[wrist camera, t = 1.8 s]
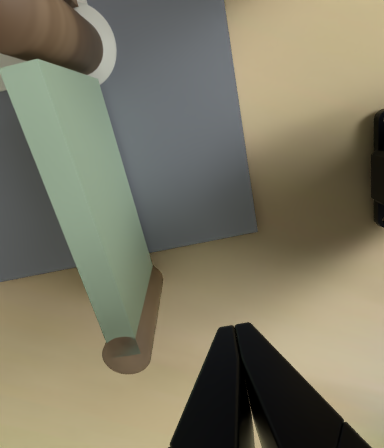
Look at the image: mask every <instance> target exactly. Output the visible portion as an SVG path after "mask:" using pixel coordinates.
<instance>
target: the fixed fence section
mask: <svg viewBox="0 0 384 448" xmlns="http://www.w3.org/2000/svg"><path fill="white" fill-rule="evenodd" d="M75 7H79V6H78V3H77V0H0V53H1V54H4V55H8V56H11V57H14V58H18V59H21V60H25V61H30V60H34V59H40V60H43V61H46V62H49V63H52V64H55V65H58V66H61V67H64V68H67V69H70V70H73V71H76V72H79V73H82V74H85V75H89V74H91V73H92V72H94V71H95V70H96V69H97V68H98V67H99V65H100V63H101V61H102V57H103V44H102V40H101V37H100V35H99V33H98V31H97V30H96V29H95V27H94V26H93V25H92V24H91V23H89V22H88V21H87V20H86V19H85V18H84V17H82V16H81V15H80V14H79V13H78V12H77V11H75V10H74V9H73V8H75Z"/></svg>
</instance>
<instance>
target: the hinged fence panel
mask: <svg viewBox="0 0 384 448" xmlns="http://www.w3.org/2000/svg"><path fill="white" fill-rule="evenodd" d="M0 74H1V77H2V79H3V82H4V84H5V87H6V89H7V92H8V94H9V97H10V99H11V102H12V104H13V107H14V109H15V112H16V115H17V117H18V120H19V122H20V125H21V127H22V130H23V132H24V135H25V137H26V140H27V142H28V145H29V147H30V150H31V153H32V155H33V158H34V160H35V163H36V165H37V168H38V170H39V173H40V175H41V178H42V180H43V183H44V186H45V188H46V191H47V193H48V196H49V198H50V201H51V203H52V206H53V208H54V211H55V213H56V216H57V218H58V221H59V224H60V226H61V229H62V231H63V234H64V236H65V239H66V241H67V244H68V246H69V249H70V251H71V254H72V256H73V259H74V262H75V264H76V267H77V269H78V272H79V274H80V277H81V279H82V282H83V284H84V287H85V289H86V292H87V294H88V297H89V300H90V302H91V305H92V307H93V310H94V312H95V315H96V317H97V320H98V322H99V325H100V327H101V330H102V333H103V335H104V338H105V340H106V343H105V346H104V348H103V352H102V356H103V360H104V362H105V364H106V365H107V366H108V367H109V368H110V369H112V370H113V371H115V372H118V373H121V374H135V373H138V372H141V371H142V370H144V369H145V368H146V367H147V366H148V365H149V363H150V360H151V354H152V348H153V341H154V335H155V329H156V323H157V316H158V310H159V304H160V298H161V291H162V285H163V276H162V274H161V272H160V271H159V270H158V269H157V268H156V267H154V266H153V265H152V262H151V258H150V255H149V251H148V248H147V245H146V241H145V238H144V234H143V231H142V228H141V224H140V221H139V217H138V214H137V210H136V207H135V204H134V200H133V197H132V193H131V190H130V187H129V183H128V180H127V176H126V173H125V169H124V166H123V163H122V159H121V156H120V152H119V149H118V146H117V142H116V139H115V135H114V132H113V128H112V125H111V122H110V118H109V115H108V111H107V108H106V105H105V101H104V98H103V94H102V91H101V87H100V84H99V81H98V79H97V78H94V77H91V76H88V75H85V74H82V73H79V72H76V71H73V70H70V69H67V68H64V67H61V66H58V65H55V64H52V63H49V62H46V61H43V60H40V59H34V60H30V61H26V62H22V63H18V64H14V65H10V66H6V67H2V68H0Z"/></svg>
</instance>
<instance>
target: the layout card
mask: <svg viewBox="0 0 384 448" xmlns="http://www.w3.org/2000/svg"><path fill="white" fill-rule="evenodd" d="M77 3H78V6H79V7H75V8H73V9H74V10H75V11H77V12H78V13H79V14H80V15H81V16H82V17H84V18H85V19H86V20H87V21H88V22H89V23H91V24H92V25H93V26H94V27H95V29H96V30H97V31H98V33H99V35H100V37H101V40H102V44H103V57H102V61H101V63H100V65H99V67H98V68H97V69H96V70H95V71H94V72H92V73H91V74H89V75H88V76H91V77H94V78H97V79H98V81H99V84H100V87H101V91H102V94H103V98H104V101H105V105H106V108H107V111H108V115H109V118H110V122H111V125H112V128H113V132H114V135H115V139H116V142H117V146H118V149H119V152H120V156H121V159H122V163H123V166H124V169H125V173H126V176H127V180H128V183H129V187H130V190H131V193H132V197H133V200H134V204H135V207H136V210H137V214H138V217H139V221H140V224H141V228H142V231H143V234H144V238H145V241H146V245H147V248H148V251H149V253H151V252H156V251H161V250H167V249H172V248H177V247H182V246H187V245H192V244H197V243H202V242H207V241H213V240H218V239H223V238H228V237H233V236H238V235H243V234H248V233H253V232H258V230H257V223H256V216H255V209H254V203H253V196H252V189H251V182H250V175H249V168H248V162H247V155H246V148H245V141H244V134H243V127H242V120H241V114H240V107H239V100H238V93H237V86H236V79H235V73H234V66H233V59H232V52H231V45H230V38H229V32H228V25H227V18H226V11H225V4H224V0H77ZM22 62H26V61H25V60H21V59H18V58H14V57H11V56H8V55H4V54H1V53H0V68H2V67H6V66H10V65H14V64H18V63H22ZM74 267H76V264H75V262H74V259H73V256H72V254H71V251H70V249H69V246H68V244H67V241H66V239H65V236H64V234H63V231H62V229H61V226H60V224H59V221H58V218H57V216H56V213H55V211H54V208H53V206H52V203H51V201H50V198H49V196H48V193H47V191H46V188H45V186H44V183H43V180H42V178H41V175H40V173H39V170H38V168H37V165H36V163H35V160H34V158H33V155H32V153H31V150H30V147H29V145H28V142H27V140H26V137H25V135H24V132H23V130H22V127H21V125H20V122H19V120H18V117H17V115H16V112H15V109H14V107H13V104H12V102H11V99H10V97H9V94H8V92H7V89H6V87H5V84H4V82H3V79H2V77H1V74H0V282H3V281H8V280H13V279H18V278H23V277H28V276H34V275H39V274H44V273H49V272H54V271H59V270H64V269H69V268H74Z"/></svg>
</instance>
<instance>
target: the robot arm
mask: <svg viewBox="0 0 384 448" xmlns="http://www.w3.org/2000/svg"><path fill="white" fill-rule="evenodd" d="M383 120H384V109H382V110H380V111H379V112H378V113H377V114H376V116H375V118H374V152H373V154H372V155H371V197H372V199H374V222H375V223H376V224H377V225H379V226H381V227H383V228H384V221H382V219H383V217H384V121H383ZM235 331H236V332H235ZM236 336H237V337H236ZM246 387H247V388H246ZM247 392H248V393H247ZM248 397H249V398H248ZM249 402H250V403H249ZM250 407H251V408H250ZM251 411H252V414H251ZM252 416H253V419H254V423H255V426H256V430H257V433H258V436H259V439H260V443H261V446H262V448H372V447H371V446H370V445H369V444H368V443H367V442H366V441H364V440H363V439H362V438H361V436H360V435H359V434H358V433H357V432H356V431H355V430H354V429H353V428H352V427H351V426H350V425H349V424H348V423H347V422H344V420H343V418H342V417H341V416H340V415H339V414H338V413H337V412H336V411H335V410H334V409H333V408H332V407H331V406H330V405H329V404H328V403H327V401H326V400H325V399H324V398H323V397H322V396H321V395H320V394H319V393H318V392H317V391H316V390H315V389H314V388H313V387H312V386H311V385H310V384H309V383H308V382H307V381H306V380H305V379H304V378H303V377H302V376H301V375H300V374H299V373H298V371H297V370H296V369H295V368H294V367H293V366H292V365H291V364H290V363H289V362H288V361H287V360H286V359H285V358H284V357H283V356H282V355H281V354H280V353H279V352H278V351H277V350H276V349H275V348H274V347H273V346H272V345H271V344H270V343H269V341H268V340H267V339H266V338H265V337H264V336H263V335H262V334H261V333H260V332H259V331H258V330H257V329H256V328H255V327H254V326H253V325H252V324H251V323H249V322H247V323H241V324H236V325H235V327H234V326H233V325H230V326H224V327H220V328H218V330H217V333H216V335H215V337H214V340H213V342H212V344H211V347H210V349H209V352H208V354H207V356H206V359H205V361H204V363H203V366H202V368H201V371H200V373H199V375H198V378H197V380H196V382H195V385H194V387H193V390H192V392H191V394H190V397H189V399H188V402H187V404H186V406H185V409H184V411H183V413H182V416H181V418H180V421H179V423H178V425H177V428H176V430H175V432H174V435H173V437H172V440H171V442H170V447H168V448H255V444H254V432H253V422H252Z"/></svg>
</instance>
